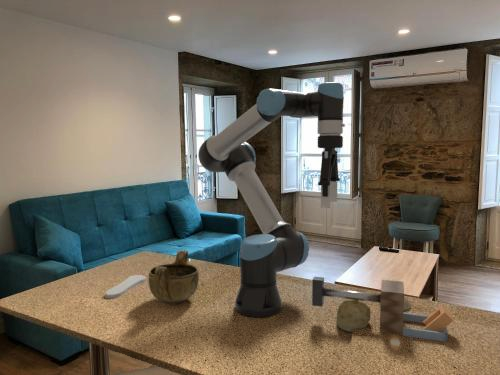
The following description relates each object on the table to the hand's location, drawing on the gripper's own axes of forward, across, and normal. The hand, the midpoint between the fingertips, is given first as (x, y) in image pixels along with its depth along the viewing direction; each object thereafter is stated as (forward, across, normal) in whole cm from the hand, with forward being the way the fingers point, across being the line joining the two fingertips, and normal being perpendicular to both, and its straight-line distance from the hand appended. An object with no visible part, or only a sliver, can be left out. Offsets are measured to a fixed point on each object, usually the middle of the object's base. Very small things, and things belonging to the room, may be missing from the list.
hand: (329, 204), depth 125 cm
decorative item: (+35, -8, -8) cm, 37 cm away
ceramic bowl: (+35, -8, +51) cm, 62 cm away
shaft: (+30, -7, -7) cm, 31 cm away
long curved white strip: (+35, -3, +75) cm, 83 cm away
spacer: (+33, -6, -29) cm, 44 cm away
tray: (+35, -6, -28) cm, 45 cm away
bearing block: (+35, -6, -19) cm, 40 cm away
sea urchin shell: (+35, +10, -20) cm, 41 cm away
